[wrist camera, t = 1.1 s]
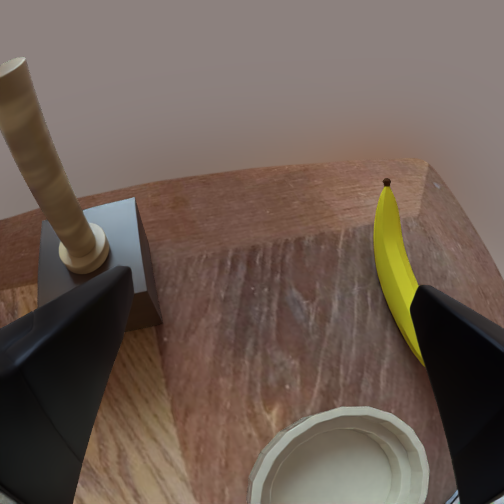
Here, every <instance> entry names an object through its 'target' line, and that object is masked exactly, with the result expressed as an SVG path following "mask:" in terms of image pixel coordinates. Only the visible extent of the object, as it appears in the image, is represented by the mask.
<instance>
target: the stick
mask: <svg viewBox="0 0 504 504" xmlns="http://www.w3.org/2000/svg"><path fill="white" fill-rule="evenodd" d="M0 130H1V133H2V135H3V137H4V139H5V142H6V144H7V146H8V148H9V150H10V152H11V154H12V156H13V158H14V160H15V162H16V164H17V166H18V168H19V170H20V172H21V174H22V176H23V178H24V180H25V182H26V183H27V185H28V187H29V189H30V191H31V192H32V194H33V196H34V198H35V199H36V201H37V203H38V205H39V207H40V208H41V210H42V212H43V213H44V215H45V217H46V218H47V220H48V222H49V223H50V225H51V227H52V228H53V230H54V231H55V233H56V235H57V236H58V238H59V239H60V241H61V242H60V245H59V256H60V259H61V260H62V262H63V263H64V265H65V266H66V267H67V268H68V270H70V271H71V272H73V273H76V274H87V273H90V272H93V271H94V270H96V269H97V268H99V267H100V266H101V265H102V264H103V263H104V261H105V260H106V258H107V256H108V253H109V241H108V239H107V237H106V235H105V232H104V231H103V229H102V228H101V227H100V226H98V225H97V224H94V223H88V221H87V219H86V217H85V215H84V213H83V211H82V208H81V206H80V204H79V202H78V200H77V198H76V196H75V194H74V191H73V189H72V187H71V184H70V182H69V180H68V178H67V175H66V173H65V171H64V168H63V166H62V163H61V161H60V159H59V156H58V154H57V151H56V149H55V146H54V143H53V141H52V138H51V136H50V133H49V130H48V128H47V125H46V122H45V119H44V116H43V113H42V111H41V108H40V105H39V102H38V99H37V96H36V92H35V89H34V86H33V83H32V80H31V76H30V72H29V70H28V65H27V62H26V59H25V58H24V57H19V58H15V59H12V60H10V61H7V62H5V63H4V64H2V65H0Z"/></svg>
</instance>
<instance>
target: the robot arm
mask: <svg viewBox="0 0 504 504" xmlns="http://www.w3.org/2000/svg"><path fill="white" fill-rule="evenodd" d="M133 297H134V286H133V278H132V270H131V268H130V267H129V266H122V265H117V266H115V267H113V268H111V269H109V270H107V271H105V272H103V273H101V274H100V275H98V276H96V277H94V278H92V279H90V280H88V281H86V282H84V283H83V284H81V285H79V286H77V287H75V288H73V289H71V290H70V291H68V292H66V293H64V294H62V295H60V296H59V297H57V298H55V299H53V300H51V301H50V302H48V303H46V304H44V305H42V306H41V307H39V308H37V309H35V310H34V312H30V313H28V314H26V315H25V316H23V317H21V318H19V319H17V320H16V321H14V322H12V323H10V324H8V325H6V326H4V327H2V328H0V504H73V500H74V496H75V492H76V488H77V484H78V480H79V476H80V472H81V468H82V463H83V460H84V456H85V452H86V449H87V445H88V442H89V438H90V435H91V432H92V428H93V425H94V422H95V419H96V415H97V412H98V409H99V406H100V403H101V400H102V397H103V394H104V391H105V388H106V385H107V382H108V379H109V376H110V373H111V370H112V367H113V365H114V362H115V359H116V356H117V354H118V351H119V348H120V345H121V343H122V340H123V336H124V333H125V329H126V324H127V320H128V317H129V313H130V309H131V305H132V301H133ZM410 315H411V319H412V322H413V326H414V330H415V334H416V338H417V342H418V346H419V349H420V353H421V356H422V359H423V361H424V364H425V367H426V370H427V373H428V376H429V380H430V383H431V386H432V389H433V392H434V396H435V399H436V402H437V406H438V409H439V413H440V416H441V420H442V423H443V427H444V431H445V435H446V439H447V443H448V447H449V451H450V455H451V459H452V465H453V470H454V475H455V480H456V485H457V490H458V496H459V502H460V504H490V503H492V502H494V501H496V500H498V499H499V498H501V497H503V496H504V329H503V328H502V327H500V326H499V325H497V324H495V323H494V322H492V321H490V320H489V319H487V318H485V317H484V316H482V315H480V314H479V313H477V312H475V311H474V310H472V309H470V308H469V307H467V306H465V305H463V304H462V303H460V302H458V301H457V300H455V299H453V298H451V297H450V296H448V295H446V294H444V293H443V292H441V291H439V290H437V289H436V288H434V287H432V286H430V285H420V286H419V287H418V288H417V290H416V292H415V295H414V297H413V300H412V302H411V305H410Z"/></svg>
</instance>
